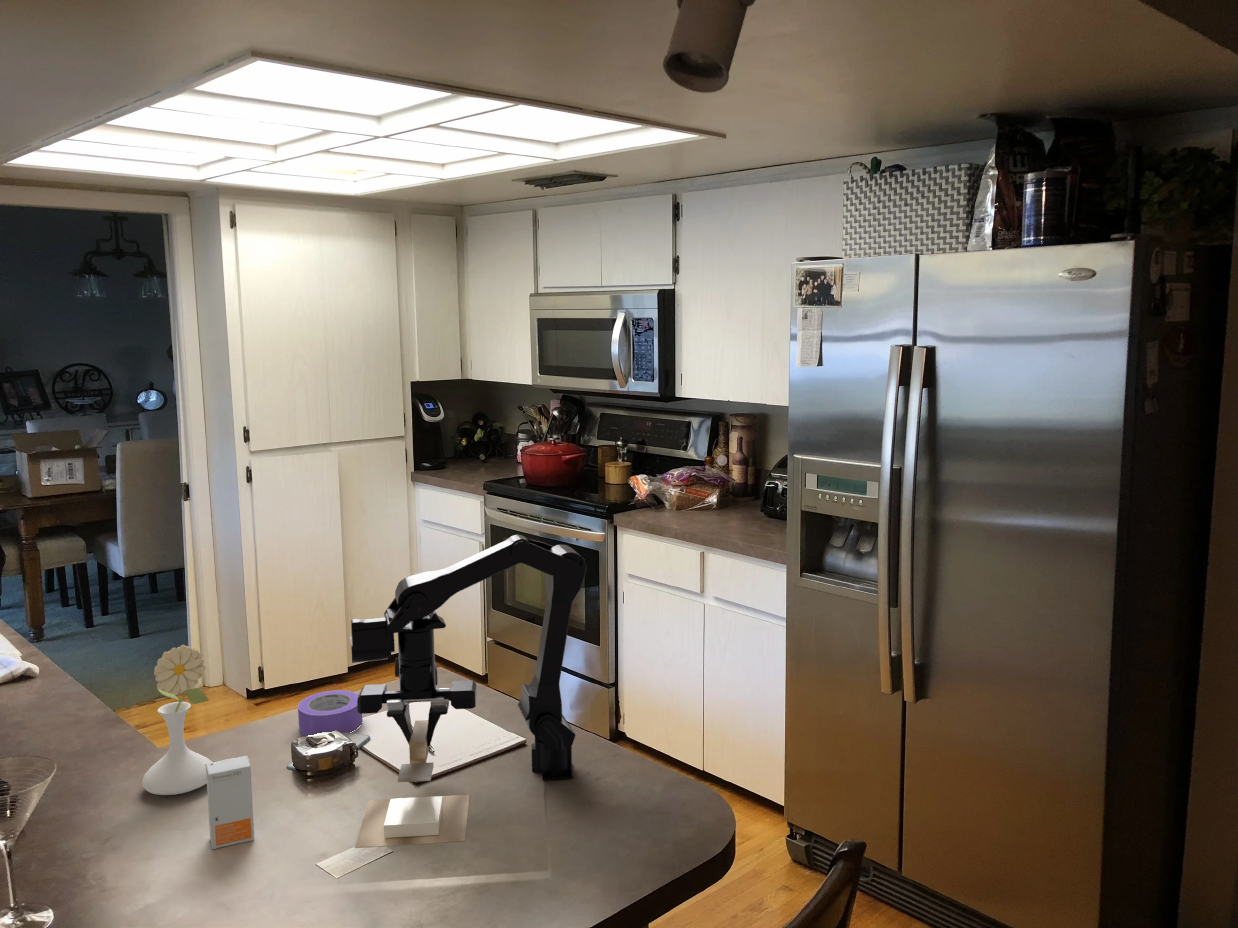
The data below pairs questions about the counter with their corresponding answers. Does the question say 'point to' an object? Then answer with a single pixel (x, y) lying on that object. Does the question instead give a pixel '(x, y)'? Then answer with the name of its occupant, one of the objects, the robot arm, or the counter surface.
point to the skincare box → (230, 801)
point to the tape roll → (329, 712)
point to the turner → (417, 756)
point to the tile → (413, 817)
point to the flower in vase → (178, 724)
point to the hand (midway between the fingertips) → (420, 745)
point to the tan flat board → (449, 832)
